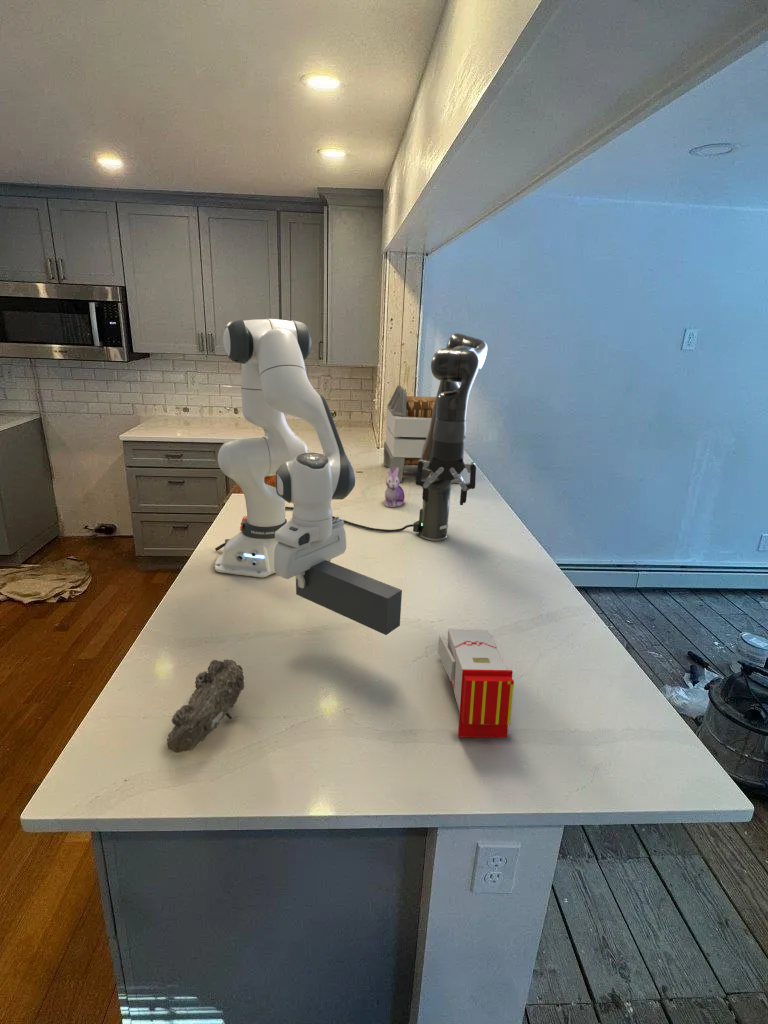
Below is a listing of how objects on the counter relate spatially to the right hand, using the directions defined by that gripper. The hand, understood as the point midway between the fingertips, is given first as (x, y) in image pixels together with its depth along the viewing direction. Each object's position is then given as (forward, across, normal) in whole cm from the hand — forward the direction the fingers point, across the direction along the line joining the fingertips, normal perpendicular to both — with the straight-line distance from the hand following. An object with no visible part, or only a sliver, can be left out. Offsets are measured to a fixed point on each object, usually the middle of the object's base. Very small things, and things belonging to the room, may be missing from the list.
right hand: (443, 503), depth 138 cm
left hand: (+16, +29, +16) cm, 37 cm away
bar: (+20, +20, +21) cm, 35 cm away
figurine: (+31, +17, -85) cm, 92 cm away
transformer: (+31, +9, -134) cm, 138 cm away
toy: (+31, -8, +32) cm, 45 cm away
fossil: (+31, +42, +47) cm, 70 cm away
